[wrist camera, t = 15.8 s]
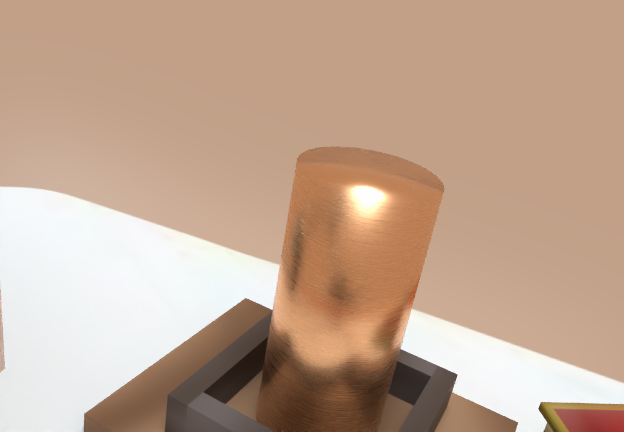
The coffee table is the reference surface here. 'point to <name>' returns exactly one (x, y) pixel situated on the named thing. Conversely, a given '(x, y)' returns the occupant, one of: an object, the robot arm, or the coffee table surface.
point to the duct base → (247, 380)
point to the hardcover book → (582, 417)
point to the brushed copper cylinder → (345, 288)
